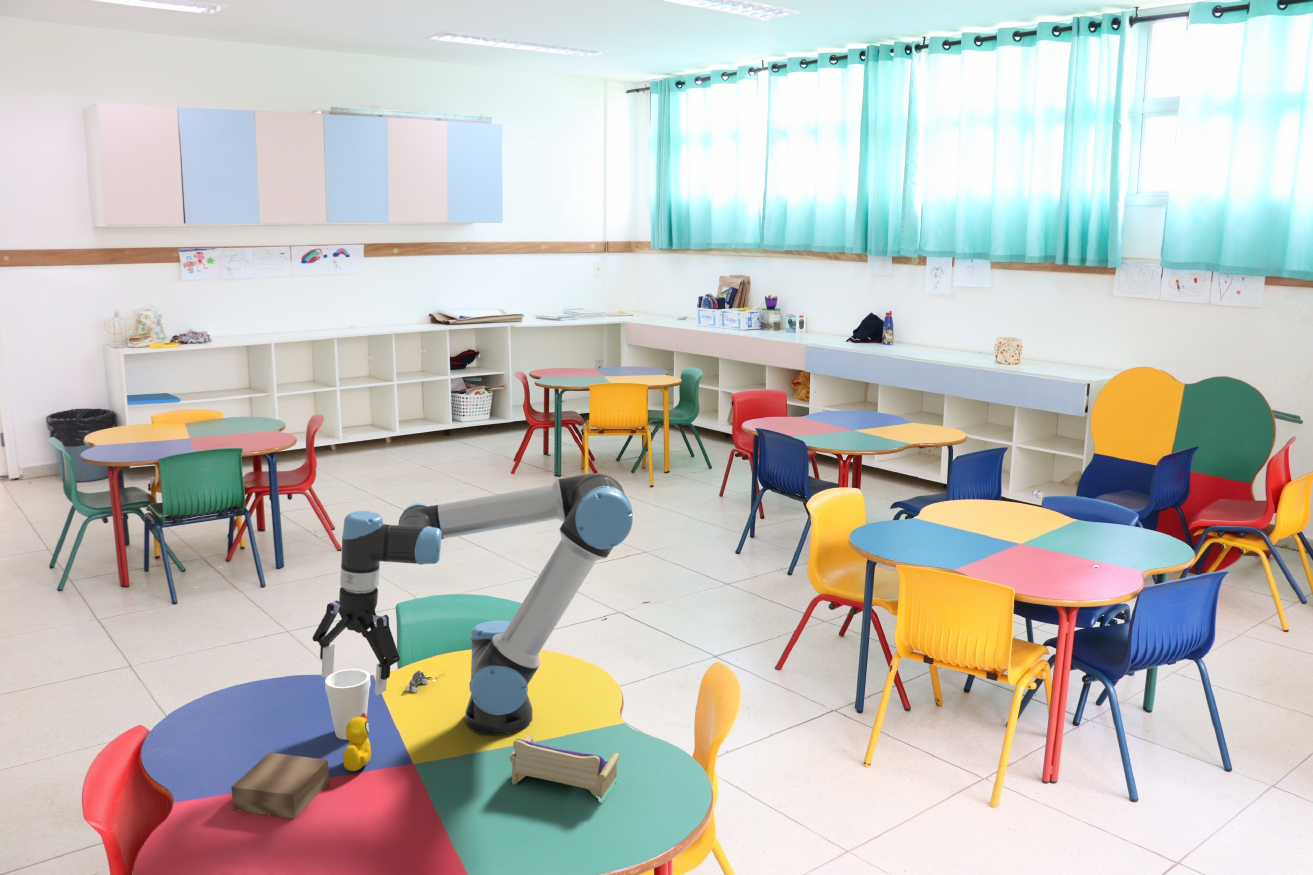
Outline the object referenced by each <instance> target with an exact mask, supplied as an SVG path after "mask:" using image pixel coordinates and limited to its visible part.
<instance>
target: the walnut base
mask: <svg viewBox="0 0 1313 875" xmlns="http://www.w3.org/2000/svg"><path fill="white" fill-rule="evenodd" d="M329 774H330V773H329V760H328V759H323V758H314V757H309V756H308V757H306V756H299V755H291V754H284V753H277V752H267V754H266V755H264V757H262V759H261V760H259V761H258V762H257V763H256V764H254V766H253V767H252V768H251V769H249V770H248V771H247V772H246V773H245V774H244V775H242V776H241V777H240V778H239V779H238V780H237V781H235V783H234V784H233V785H232V786H231V800H232V810H233V811H236V810H241V811H240V812H243V811H246V812H245V813H250V812H252V813H251V814H257V813H261V814H260V815H264V814H270V815H269V816H271V815H277V816H276V817H279V818H286V819H294V820H295V819H296V818H297V817H298V816H299V815H300V814H301V813H302V812H303V811H304V810H305V809H306V808H307V807H308V806H309V804H310V803H311V802H312V801H313V800H314V799H315V798H316V797H317V796H318V795H319V794H320V793H321V792H322V791H323V790H324V788H326V786H327V785H328V784H329V783H330V775H329Z"/></svg>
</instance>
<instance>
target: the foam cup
mask: <svg viewBox="0 0 1313 875" xmlns="http://www.w3.org/2000/svg"><path fill="white" fill-rule="evenodd" d="M324 688H325V689H324V690H325V694H326V696H327V699H328V700H327V701H328V705H329V709H330V710H329V711H330V714H331V715H330V716H331V719H332V726H333V729H334V733H335V736H336V737H337V738H338V739H340V740H347V741H349V740H348V739H347V737H346V727H347V725H348V723H349V721H350V720H351V719H353V718H355V717H361V715H362V713H365V714H366V716H367V717H368V708H369V707H368V706H369V696H370V695H369V694H370V688H371V674H370V673H369V672H368V671H367V670H363V669H360V668H348V669H342V670H341V669H340V670H337V671H333V673H332V674H330V675H329V676H327V677H325V681H324Z"/></svg>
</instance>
